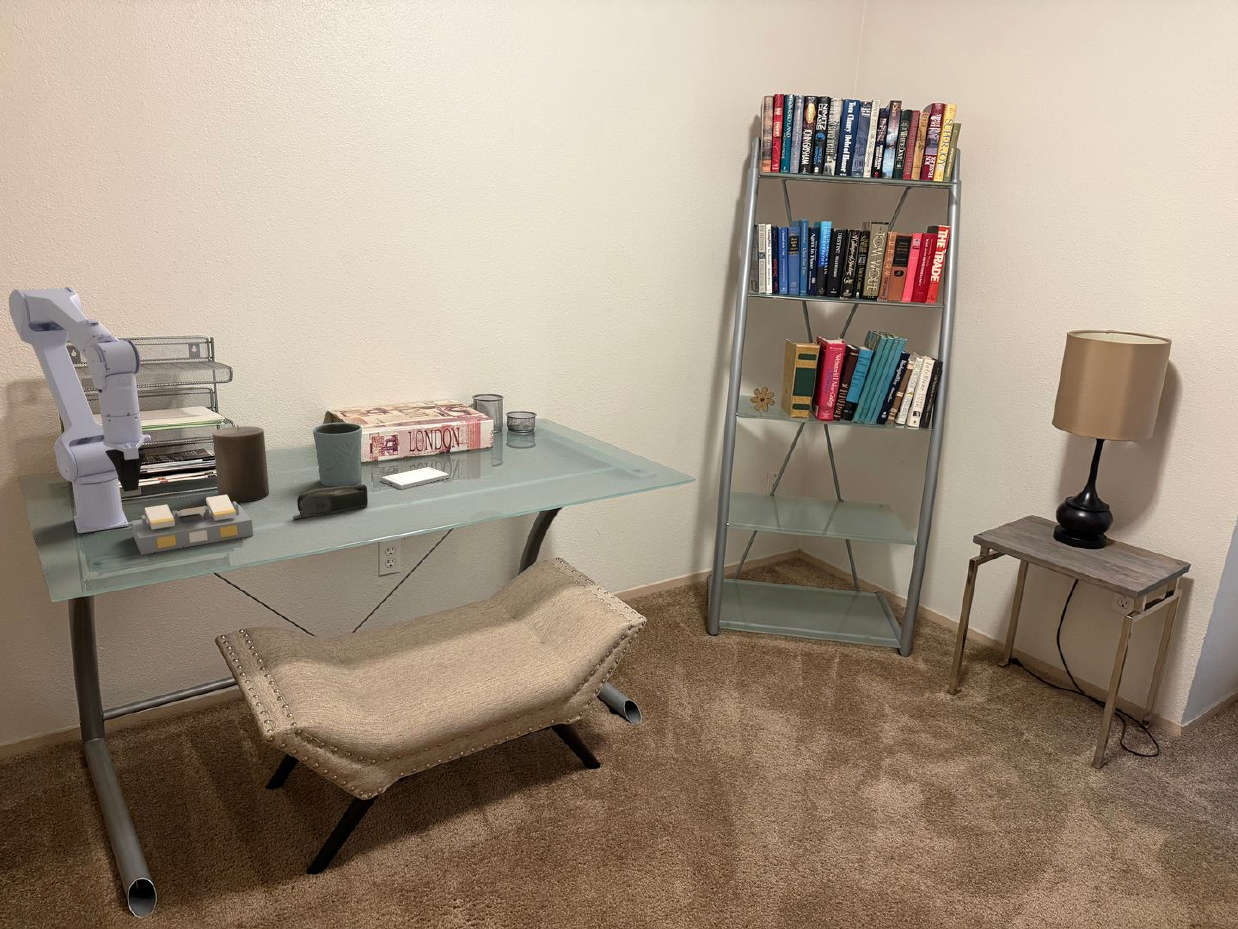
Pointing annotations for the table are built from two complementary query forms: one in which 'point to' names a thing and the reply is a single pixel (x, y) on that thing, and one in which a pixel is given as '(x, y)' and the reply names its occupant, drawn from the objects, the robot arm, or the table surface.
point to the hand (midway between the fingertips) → (130, 489)
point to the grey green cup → (338, 453)
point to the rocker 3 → (221, 507)
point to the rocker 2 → (191, 511)
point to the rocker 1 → (159, 516)
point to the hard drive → (414, 477)
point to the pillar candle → (241, 463)
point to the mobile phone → (331, 500)
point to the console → (191, 531)
